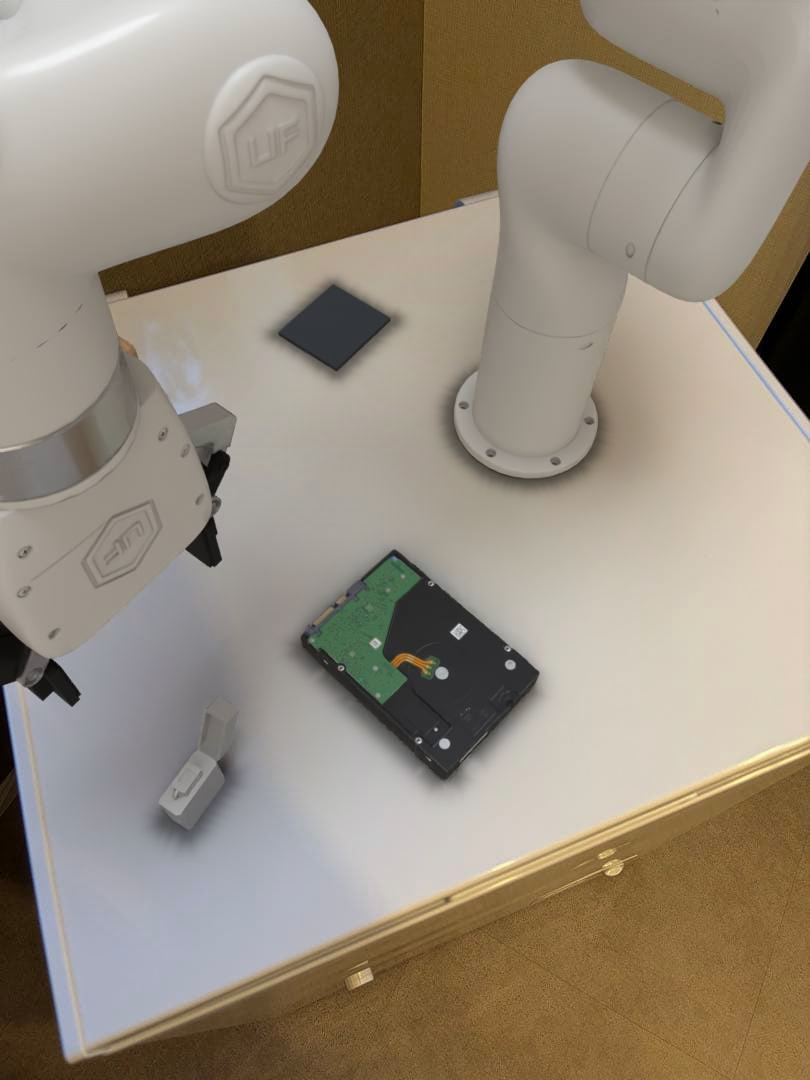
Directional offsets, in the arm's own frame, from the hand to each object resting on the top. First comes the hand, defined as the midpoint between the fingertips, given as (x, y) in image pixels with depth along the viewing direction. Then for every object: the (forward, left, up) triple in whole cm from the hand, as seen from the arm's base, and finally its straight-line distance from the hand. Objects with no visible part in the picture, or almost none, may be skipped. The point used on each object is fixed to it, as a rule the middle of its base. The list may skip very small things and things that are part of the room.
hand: (129, 614), depth 45 cm
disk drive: (-14, +9, -21) cm, 27 cm away
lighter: (+1, +3, -21) cm, 21 cm away
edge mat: (-37, -17, -21) cm, 46 cm away
